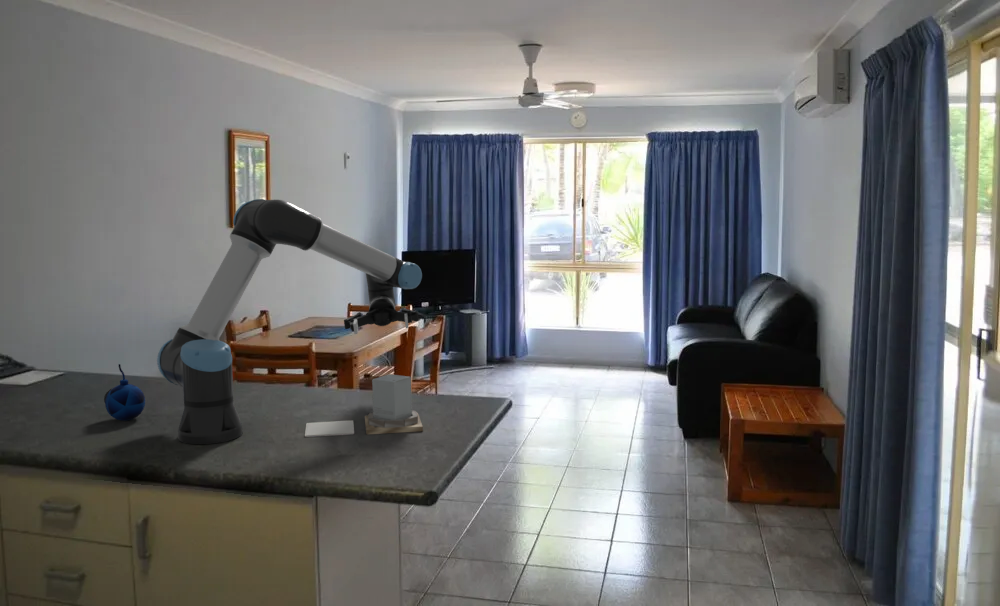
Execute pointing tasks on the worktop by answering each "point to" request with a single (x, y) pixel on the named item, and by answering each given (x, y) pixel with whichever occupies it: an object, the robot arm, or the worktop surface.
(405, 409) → the supplement box
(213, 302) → the robot arm
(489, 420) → the worktop surface
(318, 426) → the coaster
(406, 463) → the worktop surface
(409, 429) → the ring stand
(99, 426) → the worktop surface
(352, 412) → the worktop surface
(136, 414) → the bomb
